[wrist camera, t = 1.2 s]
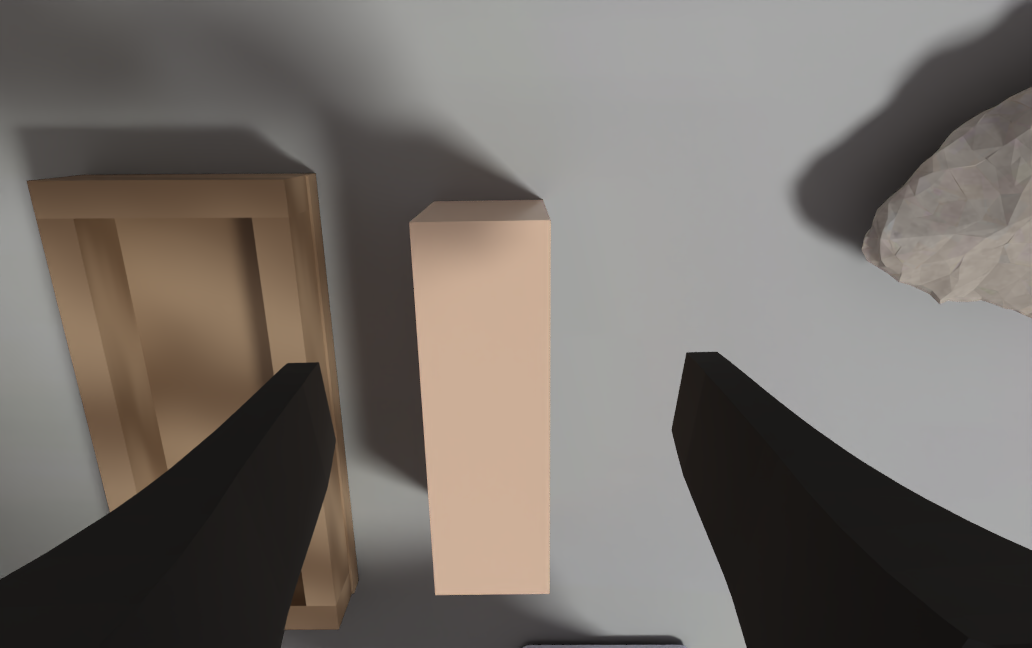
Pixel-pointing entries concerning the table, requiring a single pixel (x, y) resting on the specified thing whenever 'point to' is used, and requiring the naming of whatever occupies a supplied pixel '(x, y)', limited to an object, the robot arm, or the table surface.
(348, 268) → the table surface
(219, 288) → the wooden tray
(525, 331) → the tan rectangular block
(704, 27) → the table surface
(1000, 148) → the stone tool
